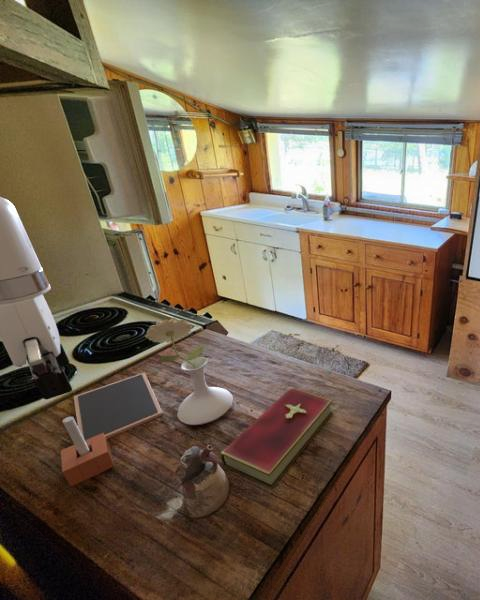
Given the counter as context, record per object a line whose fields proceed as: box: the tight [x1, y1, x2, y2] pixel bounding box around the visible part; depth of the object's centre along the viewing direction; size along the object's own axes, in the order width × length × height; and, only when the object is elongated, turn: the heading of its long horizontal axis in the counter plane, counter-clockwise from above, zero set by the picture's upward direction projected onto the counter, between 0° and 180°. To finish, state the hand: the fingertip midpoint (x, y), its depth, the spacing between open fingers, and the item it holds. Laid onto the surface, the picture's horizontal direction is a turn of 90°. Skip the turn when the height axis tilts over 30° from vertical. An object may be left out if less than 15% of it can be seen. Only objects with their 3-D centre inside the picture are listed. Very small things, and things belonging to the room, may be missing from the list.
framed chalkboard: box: [73, 372, 164, 440], centre depth 77 cm, size 14×20×1 cm
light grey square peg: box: [62, 416, 90, 456], centre depth 60 cm, size 1×1×12 cm
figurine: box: [175, 444, 230, 519], centre depth 56 cm, size 7×7×12 cm
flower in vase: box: [144, 317, 234, 426], centre depth 71 cm, size 13×11×25 cm
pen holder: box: [60, 433, 115, 487], centre depth 62 cm, size 6×6×4 cm
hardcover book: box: [219, 386, 334, 490], centre depth 70 cm, size 12×21×4 cm, turn 159°
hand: (58, 379), depth 54 cm, fingers open, 9 cm apart
